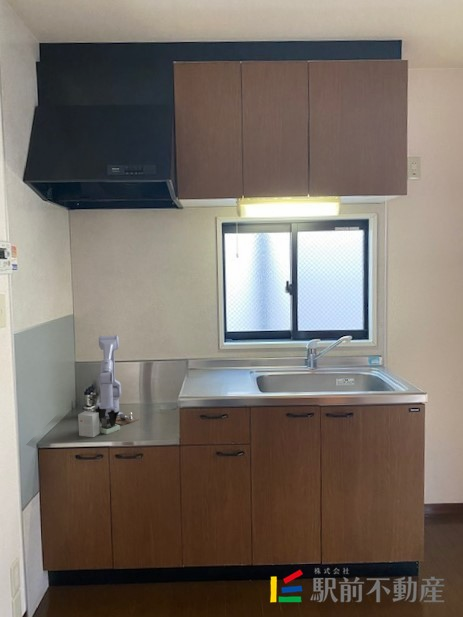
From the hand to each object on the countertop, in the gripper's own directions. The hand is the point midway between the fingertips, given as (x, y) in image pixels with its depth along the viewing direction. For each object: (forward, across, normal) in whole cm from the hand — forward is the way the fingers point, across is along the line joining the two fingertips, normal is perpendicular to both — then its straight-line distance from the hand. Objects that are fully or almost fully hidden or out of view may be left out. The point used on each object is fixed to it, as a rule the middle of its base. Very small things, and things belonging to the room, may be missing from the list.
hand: (107, 423), depth 249 cm
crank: (+2, -3, +15) cm, 15 cm away
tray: (+3, 0, 0) cm, 3 cm away
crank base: (+3, -6, +14) cm, 16 cm away
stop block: (+3, 0, 0) cm, 3 cm away
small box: (+4, -2, -9) cm, 10 cm away
